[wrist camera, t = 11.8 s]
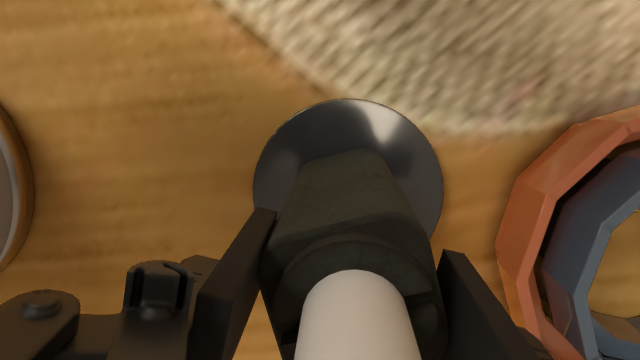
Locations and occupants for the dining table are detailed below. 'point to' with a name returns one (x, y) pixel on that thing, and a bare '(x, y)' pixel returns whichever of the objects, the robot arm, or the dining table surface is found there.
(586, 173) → the stacked bowls
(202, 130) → the dining table surface
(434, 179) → the slate coaster
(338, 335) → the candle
